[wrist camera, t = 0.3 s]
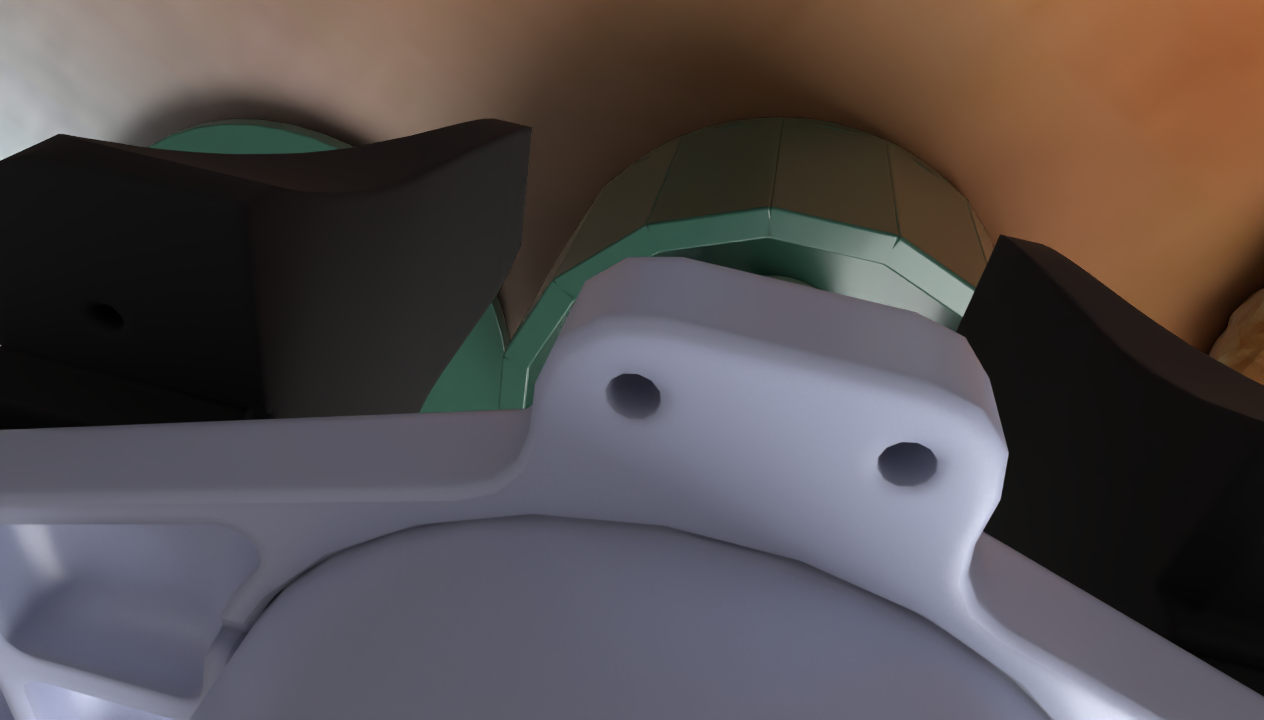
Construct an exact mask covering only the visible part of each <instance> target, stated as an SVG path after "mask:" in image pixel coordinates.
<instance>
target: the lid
mask: <svg viewBox="0 0 1264 720" xmlns="http://www.w3.org/2000/svg"><path fill="white" fill-rule="evenodd" d="M351 147H353V146H351V145H348V144H346V143H344V142H341V141H339V140H337V139H334V138H332V137H330V136H327V135H325V134H322V133H319V132H316V131H312V130H309V129H305V128H302V127H299V126H295V125H291V124H285V123H279V122H273V121H267V120H254V119H228V120H220V121H212V122H205V123H201V124H198V125H195V126H191V127H188V128H185V129H181V130H179V131H177V132H175V133H173V134H171V135H169V136H167V137H165V138H163V139H161V140H159V141H158V142H156V143H154V144H152V145H151V146H149V147H148V148H157V149H166V150H177V151H189V152H202V153H221V154H281V153H306V152H316V151H326V150H336V149H343V148H351ZM508 345H509V337H508V329H507V326H506V322H505V319H504V315H503V312H502V308H501V305H500V302H499V300H498V297H497V295H496V296H495V298H494V299H493V301H492V302H491V304H490V305H489V307H488V308H487V310H486V311H485V313H484V314H483V315H482V317H481V318H480V320H479V321H478V323H477V324H476V326H475V327H474V328H473V330H472V331H471V333H470V334H469V336H468V337H467V338H466V340H465V341H464V343H463V344H462V346H461V347H460V348H459V350H458V351H457V353H456V354H455V356H454V357H453V358H452V360H451V361H450V363H449V364H448V366H447V367H446V368H445V370H444V371H443V373H442V374H441V376H440V377H439V379H438V380H437V382H436V384H435V385H434V387H433V388H432V390H431V392H430V393H429V395H428V397H427V398H426V400H425V402H424V404H423V406H422V408H421V410H420V412H419V413H431V412H456V411H480V410H498V406H499V394H500V381H501V369H502V357H503V355H504V352H505V350H506V348H507V346H508Z"/></svg>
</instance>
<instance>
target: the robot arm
mask: <svg viewBox="0 0 1264 720" xmlns="http://www.w3.org/2000/svg"><path fill="white" fill-rule="evenodd" d="M531 134H532V127H529V126H524V125H520V124H515V123H511V122H507V121H502V120H498V119H479V120H474V121H469V122H464V123H460V124H456V125H452V126H448V127H444V128H440V129H436V130H432V131H428V132H424V133H420V134H416V135H411V136H407V137H402V138H397V139H392V140H387V141H383V142H378V143H373V144H368V145H363V146H357V147H351V148H343V149H336V150H326V151H316V152H306V153H281V154H221V153H202V152H189V151H177V150H166V149H157V148H148V147H141V146H134V145H127V144H121V143H114V142H108V141H101V140H94V139H88V138H81V137H76V136H70V135H65V134H58V135H55V136H53V137H51V138H49V139H47V140H45V141H42V142H40V143H38V144H36V145H34V146H32V147H29V148H27V149H25V150H23V151H21V152H19V153H16V154H14V155H12V156H10V157H8V158H5V159H3V160H1V161H0V345H2V346H0V720H1264V385H1262V384H1260V383H1258V382H1256V381H1254V380H1252V379H1250V378H1248V377H1246V376H1244V375H1242V374H1241V373H1239V372H1237V371H1235V370H1233V369H1232V368H1230V367H1228V366H1226V365H1224V364H1223V363H1221V362H1219V361H1217V360H1215V359H1214V358H1212V357H1210V356H1208V355H1206V354H1205V353H1203V352H1201V351H1200V350H1198V349H1196V348H1195V347H1193V346H1191V345H1190V344H1188V343H1187V342H1185V341H1183V340H1182V339H1180V338H1179V337H1177V336H1176V335H1174V334H1173V333H1171V332H1170V331H1168V330H1167V329H1165V328H1164V327H1162V326H1161V325H1159V324H1158V323H1156V322H1155V321H1153V320H1152V319H1150V318H1149V317H1148V316H1146V315H1145V314H1143V313H1142V312H1141V311H1139V310H1138V309H1136V308H1135V307H1134V306H1132V305H1131V304H1129V303H1128V302H1127V301H1125V300H1124V299H1123V298H1121V297H1120V296H1118V295H1117V294H1116V293H1114V292H1113V291H1112V290H1110V289H1109V288H1108V287H1106V286H1105V285H1104V284H1102V283H1101V282H1100V281H1098V280H1097V279H1096V278H1094V277H1093V276H1092V275H1090V274H1089V273H1088V272H1086V271H1085V270H1083V269H1082V268H1081V267H1079V266H1078V265H1077V264H1075V263H1074V262H1072V261H1071V260H1069V259H1068V258H1066V257H1065V256H1063V255H1062V254H1060V253H1059V252H1057V251H1055V250H1053V249H1052V248H1050V247H1047V246H1045V245H1043V244H1039V243H1035V242H1030V241H1026V240H1022V239H1017V238H1013V237H1008V236H1004V235H1000V236H999V238H998V241H997V243H996V245H995V247H994V249H993V252H992V254H991V256H990V258H989V260H988V263H987V265H986V267H985V269H984V271H983V274H982V276H981V278H980V280H979V282H978V285H977V287H976V289H975V291H974V293H973V296H972V298H971V300H970V302H969V304H968V307H967V309H966V311H965V313H964V315H963V318H962V320H961V322H960V324H959V326H958V329H957V331H956V332H954V331H952V330H950V329H948V328H946V327H944V326H942V325H940V324H938V323H936V322H934V321H932V320H931V319H929V318H927V317H925V316H923V315H921V314H919V313H917V312H913V311H909V310H905V309H901V308H896V307H892V306H888V305H884V304H879V303H875V302H871V301H867V300H863V299H858V298H854V297H850V296H846V295H841V294H837V293H833V292H829V291H824V290H820V289H816V288H812V287H808V286H803V285H799V284H795V283H791V282H786V281H782V280H778V279H774V278H770V277H765V276H761V275H757V274H753V273H748V272H744V271H740V270H736V269H731V268H727V267H723V266H719V265H715V264H710V263H706V262H702V261H698V260H693V259H689V258H685V257H627V258H625V259H623V260H622V261H620V262H618V263H616V264H615V265H613V266H611V267H609V268H608V269H606V270H604V271H602V272H601V273H599V274H597V275H595V276H594V277H592V278H590V279H588V280H587V281H585V282H584V285H583V287H582V289H581V291H580V293H579V295H578V297H577V299H576V301H575V303H574V305H573V307H572V309H571V311H570V313H569V315H568V317H567V319H566V321H565V323H564V325H563V327H562V329H561V331H560V333H559V335H558V337H557V339H556V341H555V344H554V346H553V348H552V350H551V352H550V354H549V356H548V358H547V360H546V362H545V364H544V366H543V368H542V370H541V372H540V374H539V376H538V378H537V380H536V383H535V388H534V396H533V404H532V406H530V407H528V408H526V409H505V410H480V411H456V412H431V413H419V412H420V410H421V408H422V406H423V404H424V402H425V400H426V398H427V397H428V395H429V393H430V392H431V390H432V388H433V387H434V385H435V384H436V382H437V380H438V379H439V377H440V376H441V374H442V373H443V371H444V370H445V368H446V367H447V366H448V364H449V363H450V361H451V360H452V358H453V357H454V356H455V354H456V353H457V351H458V350H459V348H460V347H461V346H462V344H463V343H464V341H465V340H466V338H467V337H468V336H469V334H470V333H471V331H472V330H473V328H474V327H475V326H476V324H477V323H478V321H479V320H480V318H481V317H482V315H483V314H484V313H485V311H486V310H487V308H488V307H489V305H490V304H491V302H492V301H493V299H494V298H495V296H496V295H497V293H498V292H499V290H500V289H501V287H502V285H503V283H504V281H505V278H506V276H507V274H508V272H509V270H510V268H511V266H512V264H513V261H514V259H515V257H516V255H517V253H518V250H519V248H520V246H521V238H522V227H523V217H524V207H525V196H526V186H527V176H528V165H529V155H530V145H531Z"/></svg>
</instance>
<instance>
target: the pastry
mask: <svg viewBox="0 0 1264 720" xmlns="http://www.w3.org/2000/svg"><path fill="white" fill-rule="evenodd" d="M1208 356H1210V357H1212V358H1214V359H1215V360H1217V361H1219V362H1221V363H1223V364H1224V365H1226V366H1228V367H1230V368H1232V369H1233V370H1235V371H1237V372H1239V373H1241V374H1242V375H1244V376H1246V377H1248V378H1250V379H1252V380H1254V381H1256V382H1258V383H1260V384H1262V385H1264V288H1263V289H1261V290H1258V291H1256V292H1255V293H1253V294H1252V295H1251V296H1250V297H1249V298H1248V299H1247V300H1246V301H1245V302H1244V303H1243V304H1242V305H1240V306H1239V307H1238V308H1237V309H1236V310H1235V311H1234V313H1233V314H1232V315H1231V316H1230V320H1229V323H1228V327H1227V328H1226V329H1225V331H1224V332H1223V333H1222V335H1221V336H1220V337H1219V338H1218V339H1217V340H1216V342H1215V343H1214V345H1213V347H1212V349H1211V351H1210V353H1209V355H1208Z"/></svg>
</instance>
